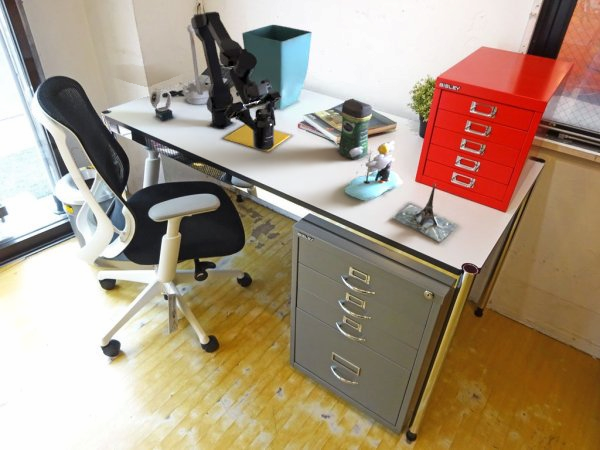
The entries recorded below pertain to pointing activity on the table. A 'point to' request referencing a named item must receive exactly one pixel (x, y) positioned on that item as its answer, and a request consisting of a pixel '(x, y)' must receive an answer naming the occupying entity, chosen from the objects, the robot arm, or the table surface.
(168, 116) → the watch
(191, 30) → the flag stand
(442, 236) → the eiffel tower figurine
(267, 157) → the table surface
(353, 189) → the cartoon character figurine
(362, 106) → the coffee jar
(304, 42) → the flower pot
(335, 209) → the table surface
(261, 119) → the supplement bottle
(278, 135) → the cloth
